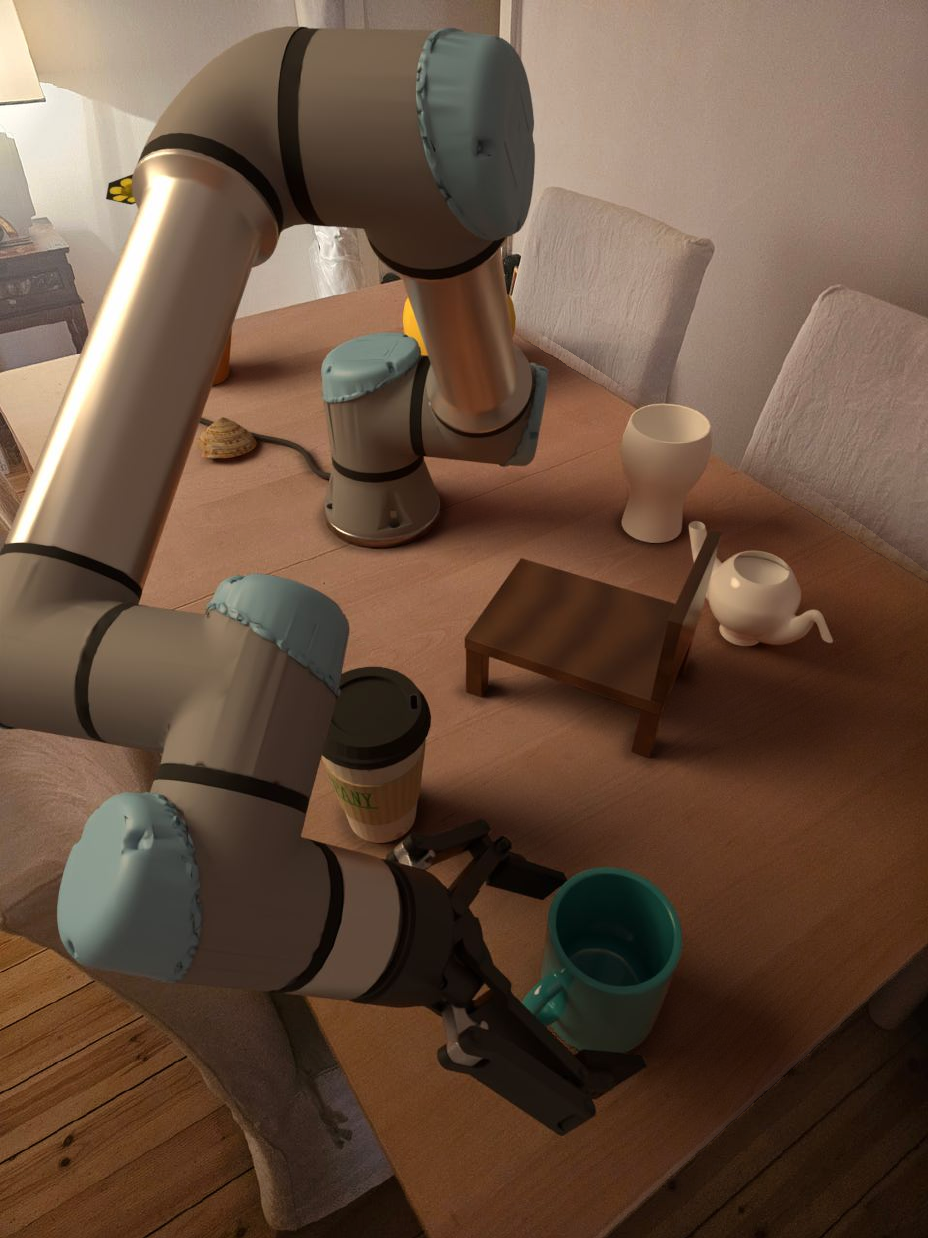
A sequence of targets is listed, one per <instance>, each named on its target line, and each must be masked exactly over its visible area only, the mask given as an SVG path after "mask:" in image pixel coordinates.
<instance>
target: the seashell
mask: <svg viewBox="0 0 928 1238" xmlns="http://www.w3.org/2000/svg"><path fill="white" fill-rule="evenodd" d="M213 422H214V423H213V424H211V425H210V426H207V428H206V429H204V430H203V432H202V433H201V435H200V437H199V438H198V439H197V440H196V442H195V445H194V447H195V449H197V450H200V451H201V452H202V453H201V456H202V458H203V459H204V458H206V459H228V458H235V457H239V456H243V455H245V454H247V453H249V452H251V451H253V450H254V449H255V448H256V446H257V444H258V443H257V439H255V438H254V436H253V435H252V434H251V433H250V432H251V431H249V430H248V429H247V428H245V427H244V426H242V425H241V424H238V423H237V422H236V421H234V420H232V419H229V418H227V417H221V418H219V419H218V420H215V421H213Z"/></svg>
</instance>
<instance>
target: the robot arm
mask: <svg viewBox="0 0 928 1238" xmlns="http://www.w3.org/2000/svg"><path fill="white" fill-rule="evenodd" d="M530 87H531V86H530V83H529V78H528V75H527V72H526V68H525V66H524V64H523V60H522V59H521V57H520V55H519V53H518V52H517V51H516V49H515V48H514V47H513V45H511V43H510V42H509V41H507V40H506V39H504V38H502V37H500V36H497V35H494V34H487V33H478V32H469V31H463V29H459V28H456V27H442V28H440V29H438V30H436V29H385V28H384V29H383V28H380V29H379V28H324V27H322V28H319V27H318V28H316V27H315V28H314V27H313V28H312V27H308V26H292V25H291V26H287V25H286V26H281V27H275V28H271V29H267V30H264V31H259V32H256V33H254V34H252V35H250V36H248V37H246V38H244V39H242V40H240V41H239V42H237V43H235V44H232V45H231V46H230V47H228V48H227V49H225V50H224V51H222V52H221V53H220V54H218V55H217V56H216V57H214V58H212V59H211V60H210V61H209V62H208V63H206V65H205V66H204V67H202V69H200V70H199V71H198V72H197V73H196V74H195V75H194V76H193V77H192V78H191V79H190V80H189V81H188V82H187V83H186V84H185V86H184V87H183V88H182V89H181V90H180V91H179V93H178V94H176V96H175V97H174V98H173V99H172V100H171V102H170V104H168V106H167V107H166V109H165V110H164V111H163V113H161V115H160V117H159V118H158V120H157V122H156V123H155V125H154V127H153V129H152V131H151V132H150V134H149V136H148V137H147V140H146V142H145V145H144V146H143V148H142V151H141V153H140V156H139V159H138V160H137V163H136V166H135V168H134V170H133V172H132V174H133V177H132V193H133V196H134V200H135V202H136V203H135V205H136V207H137V212H136V214H135V217H134V219H133V222H132V225H131V227H130V229H129V232H128V233H127V237H126V240H125V242H124V243H123V247H122V249H121V252H120V254H119V257H118V259H117V261H116V264H115V267H114V269H113V271H112V274H111V277H110V278H109V279H110V280H109V281H108V282H109V283H108V284H107V287H106V289H105V292H104V294H103V296H102V299H101V302H100V304H99V307H98V309H97V312H96V314H95V316H94V319H93V322H92V324H91V327H90V329H89V331H88V335H87V337H86V339H85V342H84V343H83V347H82V350H81V352H80V354H79V356H78V359H77V362H76V365H75V367H74V369H73V372H72V373H71V377H70V379H69V381H68V385H67V386H66V389H65V392H64V394H63V397H62V399H61V402H60V405H59V406H58V409H57V412H56V414H55V416H54V419H53V421H52V424H51V427H50V429H49V432H48V434H47V436H46V439H45V441H44V444H43V446H42V449H41V451H40V454H39V457H38V458H37V461H36V464H35V466H34V469H33V471H32V474H31V476H30V479H29V482H28V484H27V487H26V489H25V491H24V494H23V496H22V499H21V501H20V504H19V507H18V509H17V512H16V514H15V516H14V520H13V521H12V524H11V526H10V529H9V532H8V534H7V536H6V539H5V542H4V544H3V546H2V547H1V549H0V729H1V730H6V731H8V730H26V731H33V732H37V733H38V732H39V733H45V734H50V735H56V736H62V737H67V738H75V739H80V740H85V741H91V742H97V743H102V744H109V745H112V746H118V747H123V748H129V749H134V750H140V751H145V752H149V753H150V752H151V753H156V754H161V755H162V756H161V759H160V763H159V765H158V768H157V770H156V773H155V776H154V780H153V782H152V785H151V788H150V790H149V791H144V792H141V793H139V792H132V791H126V792H125V791H124V792H121V793H117V794H115V795H113V796H110V797H109V798H108V799H106V800H105V801H104V802H103V803H102V804H100V805H99V806H98V807H97V808H96V809H95V810H94V812H93V813H92V814H91V815H90V817H89V818H88V819H87V821H86V822H85V825H84V828H83V831H82V833H81V834H82V835H81V837H80V839H79V841H78V842H76V843H75V844H74V845H73V846H72V849H71V850H70V853H69V856H68V857H67V860H66V864H65V865H64V866H65V867H64V871H63V874H62V877H61V880H60V886H59V891H58V896H57V897H58V898H57V906H56V907H57V908H56V909H57V910H56V918H57V919H56V922H57V928H58V934H59V936H60V941H61V943H62V944H63V946H64V948H65V950H66V952H67V953H68V954H69V955H70V956H71V957H72V958H73V960H75V961H76V962H77V964H79V965H81V966H83V967H85V968H88V969H95V970H100V971H106V972H111V973H118V974H123V975H129V976H134V977H140V978H146V979H152V980H154V981H158V982H161V983H163V984H171V985H172V984H173V985H175V984H181V985H193V986H202V987H211V988H212V987H213V988H223V989H233V990H234V989H235V990H243V991H254V992H264V993H273V994H287V995H293V996H294V995H295V996H301V997H302V996H303V997H309V998H310V997H311V998H318V999H328V1000H335V1001H336V1000H337V1001H343V1002H344V1001H345V1002H346V1001H349V1002H352V1003H354V1004H362V1005H363V1004H364V1005H371V1006H378V1007H379V1006H380V1007H387V1008H395V1009H396V1008H398V1009H404V1008H416V1007H417V1008H418V1007H423V1008H426V1009H428V1010H430V1011H432V1012H433V1013H434V1014H435V1015H436V1016H438V1017H440V1018H442V1023H443V1028H444V1034H445V1039H446V1043H444V1044H443V1045H442V1046H440V1047H439V1048H438V1049H437V1051H436V1058H437V1061H438V1063H439V1065H440V1066H441V1067H442V1068H443V1069H444V1070H446V1071H450V1072H454V1073H459V1074H464V1075H469V1076H470V1077H472V1078H474V1079H475V1080H476V1081H477V1082H479V1083H481V1084H482V1085H484V1086H485V1087H487V1088H488V1089H489V1090H492V1091H493V1092H494V1093H495V1094H497V1095H499V1096H500V1097H502V1098H503V1099H505V1100H506V1101H507V1102H509V1103H511V1104H512V1105H513V1106H515V1107H516V1108H518V1109H519V1110H521V1111H522V1112H523V1113H524V1114H525V1113H526V1115H528V1116H530V1117H531V1118H533V1119H534V1120H536V1121H537V1122H539V1123H540V1124H542V1125H543V1126H544V1127H546V1128H548V1130H550V1131H552V1132H553V1133H555V1135H556V1134H557V1135H558V1136H560V1137H563V1136H566V1135H568V1134H569V1133H571V1132H572V1131H573V1130H575V1129H577V1128H578V1127H579V1126H582V1125H583V1124H585V1123H586V1122H588V1121H589V1120H591V1119H593V1118H594V1117H595V1116H596V1115H597V1109H596V1105H595V1103H594V1101H593V1100H598V1099H599V1098H601V1097H603V1096H605V1095H606V1094H608V1093H609V1092H610V1091H613V1090H614V1089H615V1088H616V1087H617V1086H619V1085H621V1084H622V1083H624V1082H626V1081H627V1080H629V1079H630V1078H632V1077H633V1076H635V1075H637V1074H638V1073H640V1072H641V1071H643V1070H644V1069H646V1068H648V1065H647V1062H646V1060H645V1058H644V1056H643V1054H639V1053H628V1052H625V1053H619V1052H608V1051H597V1050H586V1049H582V1050H581V1051H580V1050H578V1051H577V1053H575V1054H574V1053H572V1051H571V1050H570V1049H569V1048H568V1047H566V1046H565V1044H564V1043H562V1041H561V1040H559V1039H558V1037H556V1035H554V1034H553V1033H552V1031H551V1030H550V1029H549V1028H548V1027H545V1026H544V1025H543V1024H542V1023H541V1022H540V1021H539V1020H538V1019H537V1018H536V1017H535V1016H534V1015H533V1014H532V1013H531V1012H530V1011H529V1010H528V1009H527V1008H526V1007H525V1006H524V1005H523V1004H522V1003H521V1002H522V1001H520V1000H519V998H518V997H517V996H516V995H515V994H514V993H513V992H512V988H513V985H512V982H511V980H510V979H509V978H508V977H507V976H506V975H505V974H504V973H503V972H502V971H500V969H499V968H498V967H497V966H496V965H495V964H494V961H493V959H492V955H491V952H490V950H489V948H488V947H487V944H486V942H485V939H484V934H483V928H482V925H481V921H480V918H479V917H478V916H475V915H474V913H473V911H472V910H471V909H470V906H471V905H472V903H473V902H474V900H475V899H476V897H477V896H479V894H480V891H481V890H480V889H481V888H482V887H483V885H484V884H485V885H486V886H487V887H491V888H495V889H497V890H498V889H499V890H502V891H506V892H510V893H514V894H518V895H521V896H525V897H528V898H531V899H536V900H539V901H544V900H546V899H547V898H549V896H551V895H552V894H553V893H555V892H557V891H558V890H559V889H560V887H561V886H562V885H563V884H564V883H565V882H566V881H568V880H569V879H568V877H567V876H566V873H565V872H564V871H562V870H558V869H554V868H551V867H548V866H545V865H542V864H538V863H536V862H532V861H529V860H527V859H528V858H527V857H525V855H523V854H521V853H518V852H515V851H512V849H513V843H512V841H511V840H510V838H509V837H508V836H507V835H505V834H501V835H500V836H499V837H497V838H495V840H492V838H491V836H490V833H491V832H492V826H491V825H490V823H489V821H487V820H486V819H484V818H478V819H474V820H472V821H469V822H466V823H464V824H460V825H458V826H455V827H451V828H449V829H446V830H443V831H440V832H437V833H435V834H427V833H421V832H416V831H413V832H411V833H410V834H409V835H407V836H406V837H405V838H404V839H403V840H401V841H400V842H399V843H398V844H397V845H396V846H395V847H393V849H392V850H390V851H389V852H388V853H387V854H386V856H385V858H380V857H378V856H375V855H372V854H368V853H365V852H361V851H357V850H353V849H349V848H346V847H342V846H337V845H333V844H329V843H325V842H322V841H317V840H315V839H311V838H307V837H303V836H302V834H303V831H304V828H305V827H304V826H305V822H306V817H307V812H308V809H309V804H310V800H311V797H312V794H313V790H314V786H315V783H316V779H317V775H318V771H319V769H320V764H321V760H322V753H323V749H324V745H325V742H326V738H327V734H328V731H329V727H330V723H331V720H332V716H333V712H334V709H335V705H336V701H337V699H338V698H339V697H340V694H341V690H340V688H339V685H340V680H341V675H342V674H343V669H344V664H345V658H346V653H347V647H348V643H349V638H350V631H351V630H350V623H349V619H348V617H346V614H345V613H344V612H343V610H342V608H341V607H340V606H339V604H338V603H337V602H336V601H335V600H334V599H332V598H330V597H329V596H328V595H326V594H324V593H323V592H322V591H320V590H318V589H315V588H313V587H312V586H309V585H307V584H304V583H302V582H300V581H297V580H294V579H290V578H285V577H283V576H279V575H272V574H266V573H251V574H246V575H242V574H236V575H233V576H229V577H226V578H225V579H224V580H223V581H221V583H219V585H218V586H217V588H216V590H215V591H214V594H213V596H212V598H211V600H210V601H209V602H207V604H206V608H205V610H206V612H204V613H200V612H199V613H198V612H190V611H183V610H177V609H170V608H163V607H155V606H149V605H144V604H140V601H141V598H142V596H143V591H144V588H145V585H146V582H147V578H148V575H149V573H150V570H151V568H152V564H153V561H154V558H155V555H156V552H157V549H158V546H159V543H160V540H161V537H162V534H163V532H164V529H165V526H166V522H167V520H168V517H169V514H170V511H171V508H172V505H173V502H174V499H175V496H176V493H177V491H178V488H179V484H180V481H181V479H182V475H183V473H184V469H185V467H186V463H187V461H188V458H189V455H190V452H191V449H192V446H193V443H194V440H195V437H196V435H197V432H198V428H199V426H200V424H203V425H206V426H207V427H209V426H210V425H211V424H213V423H214V422H215V421H212V420H210V419H208V418H207V419H206V418H204V417H203V414H204V411H205V407H206V404H207V402H208V399H209V396H210V393H211V390H212V387H213V385H212V384H213V381H214V378H215V376H216V373H217V370H218V367H219V364H220V361H221V358H222V355H223V352H224V349H225V346H226V343H227V340H228V337H229V334H230V331H231V328H232V329H233V326H234V322H235V319H236V316H237V313H238V311H239V308H240V304H241V301H242V298H243V296H244V293H245V290H246V287H247V283H248V281H249V278H250V275H251V273H252V269H253V268H255V267H256V268H257V267H259V266H261V265H263V264H264V263H265V262H267V261H269V259H271V257H272V255H274V253H275V251H276V248H277V246H278V243H279V241H280V240H279V239H280V237H281V233H282V232H283V231H285V230H287V229H290V228H292V227H295V226H301V225H310V226H314V227H331V228H333V227H334V228H348V229H359V230H363V231H364V233H365V236H366V238H367V240H368V244H369V246H370V248H371V249H372V252H373V253H374V255H375V256H376V257H377V259H378V260H379V261H380V262H381V263H382V264H383V266H385V267H386V268H387V269H389V270H391V271H392V272H393V273H396V274H397V275H399V276H400V277H401V280H402V284H403V286H404V288H405V292H406V294H407V298H409V301H410V304H411V307H412V310H413V312H414V315H415V318H416V321H417V324H418V327H419V330H420V333H421V336H422V339H423V342H424V345H425V348H426V351H427V354H428V356H426V355H421V348H420V347H419V344H418V342H417V341H416V340H415V339H414V338H413V337H409V336H407V335H406V334H404V333H402V332H395V331H394V332H393V331H387V332H375V333H369V334H364V335H360V336H357V337H354V338H352V339H349V340H347V341H345V342H342V343H341V344H339V345H337V346H335V347H334V348H333V349H331V351H330V352H328V353H327V355H326V356H325V357H324V359H323V361H322V364H321V370H320V372H321V386H322V389H321V395H320V396H321V400H322V401H323V407H324V412H325V413H324V414H325V421H326V429H327V436H328V442H329V449H330V455H331V463H332V467H331V471H330V472H326V471H322V470H321V469H319V468H318V467H317V465H316V464H315V462H314V460H313V459H312V457H311V455H310V453H309V452H308V451H307V450H306V449H305V448H304V447H303V446H301V445H300V444H298V443H296V442H293V441H291V440H287V439H285V438H280V437H275V436H270V435H264V434H260V433H255V432H251V431H249V432H250V433H251V434H252V435H253V436H254V438H255V440H259V441H264V442H269V443H273V444H279V445H282V446H287V447H289V448H292V449H294V450H296V451H297V452H299V453H300V454H301V455H302V456H303V457H304V459H305V461H306V463H307V464H308V467H309V468H310V470H311V471H312V472H313V473H314V474H315V475H317V476H318V477H320V478H322V479H323V478H324V479H329V481H328V485H327V489H326V493H325V498H324V507H323V509H324V510H323V511H324V517H325V518H324V519H325V523H326V525H327V527H328V528H329V530H330V532H332V533H333V534H334V535H335V536H336V537H338V538H339V539H341V540H343V541H345V542H346V543H347V542H348V543H350V544H353V545H356V546H361V547H368V548H389V547H395V546H396V547H397V546H400V545H405V544H407V543H412V542H414V541H415V540H418V539H420V538H421V537H423V536H425V535H426V534H428V533H429V532H430V531H431V530H432V529H433V528H434V527H435V526H436V524H437V522H438V521H439V519H440V514H441V502H440V501H441V500H440V496H439V492H438V489H437V488H436V486H435V484H434V481H433V478H432V476H431V473H430V470H429V468H428V466H427V463H426V461H425V458H436V459H443V460H454V461H463V462H472V463H479V464H481V463H482V464H488V465H489V464H490V465H499V466H500V467H503V468H507V467H509V466H511V467H512V466H513V467H525V466H528V465H530V464H531V463H533V461H534V459H535V456H536V454H537V448H538V443H539V436H540V431H541V426H542V421H543V415H544V410H545V403H546V397H547V392H548V391H547V390H548V383H549V370H548V368H546V367H545V366H543V365H539V364H536V363H535V362H529V359H528V358H527V356H526V355H525V353H524V352H523V351H522V350H521V348H520V347H519V346H518V345H516V344H515V342H514V336H513V337H512V329H511V322H510V314H509V307H508V299H507V294H508V292H507V285H506V277H505V270H504V262H503V255H502V247H503V246H504V245H505V243H506V242H507V240H508V238H509V237H512V236H513V235H516V234H517V233H518V232H520V231H521V229H522V228H523V226H524V225H525V222H526V221H527V218H528V215H529V212H530V207H531V203H532V197H533V189H534V182H535V181H534V180H535V168H536V167H535V165H536V164H535V163H536V147H535V145H536V144H535V142H534V130H535V115H534V108H533V107H534V106H533V99H532V94H531V88H530ZM467 852H469V854H470V856H471V858H472V859H471V860H469V862H468V863H467V864H466V866H464V868H463V869H462V871H461V872H460V873H459V874H458V875H457V877H456V878H455V879H454V880H453V881H452V883H451V884H450V885H449V886H448V887H447V886H446V885H444V884H443V883H442V881H440V879H439V878H437V876H435V875H434V874H433V873H431V872H430V871H428V870H429V869H430V868H431V867H432V866H435V865H438V864H440V863H442V862H444V861H447V860H449V859H452V858H454V857H457V856H460V855H462V854H465V853H467ZM484 985H486V987H488V988H489V989H488V990H487V991H485V992H484V993H483V994H481V995H480V996H479V997H477V998H475V997H476V996H477V994H478V993H479V991H480V990H481V989H482V987H484ZM474 998H475V999H474Z"/></svg>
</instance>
